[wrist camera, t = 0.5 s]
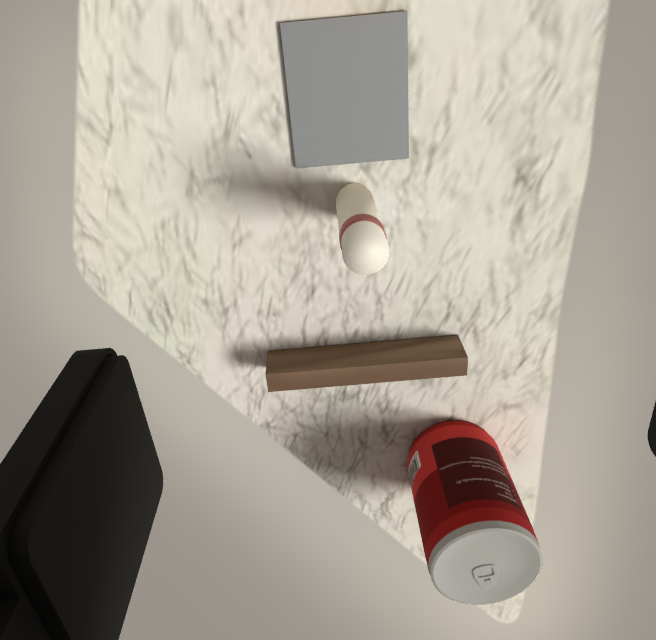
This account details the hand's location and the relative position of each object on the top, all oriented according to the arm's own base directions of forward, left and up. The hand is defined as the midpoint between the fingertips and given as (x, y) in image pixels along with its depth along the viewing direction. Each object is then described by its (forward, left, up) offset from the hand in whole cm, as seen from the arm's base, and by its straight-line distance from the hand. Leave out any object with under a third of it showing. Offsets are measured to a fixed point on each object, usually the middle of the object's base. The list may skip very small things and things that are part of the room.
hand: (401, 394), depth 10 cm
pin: (+5, +1, -28) cm, 28 cm away
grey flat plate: (-1, +1, -28) cm, 28 cm away
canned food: (+28, +8, -28) cm, 40 cm away
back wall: (+17, +1, -28) cm, 32 cm away
